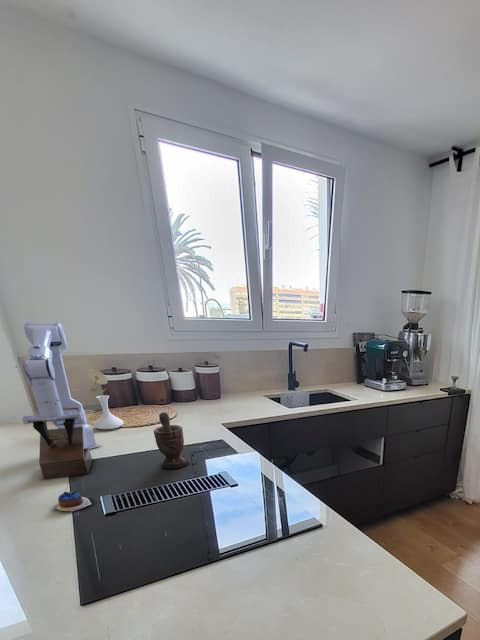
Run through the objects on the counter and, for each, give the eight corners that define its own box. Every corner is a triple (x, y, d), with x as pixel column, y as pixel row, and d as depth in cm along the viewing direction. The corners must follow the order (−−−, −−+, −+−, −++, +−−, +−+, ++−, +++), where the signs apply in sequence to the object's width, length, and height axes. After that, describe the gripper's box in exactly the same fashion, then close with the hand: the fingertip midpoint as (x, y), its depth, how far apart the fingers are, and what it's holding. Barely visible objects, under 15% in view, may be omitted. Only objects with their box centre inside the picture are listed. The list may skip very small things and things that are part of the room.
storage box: (52, 464, 132) (48, 452, 130) (92, 460, 137) (88, 447, 135) (44, 479, 121) (39, 465, 119) (87, 473, 126) (84, 460, 124)
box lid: (40, 431, 126) (35, 421, 123) (83, 427, 131) (79, 418, 128) (39, 465, 119) (34, 456, 116) (84, 460, 124) (80, 451, 121)
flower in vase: (129, 427, 174) (117, 369, 164) (103, 433, 165) (88, 372, 155) (114, 422, 180) (101, 366, 170) (87, 427, 171) (72, 369, 161)
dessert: (47, 506, 104) (56, 485, 105) (71, 510, 110) (79, 490, 111) (67, 514, 101) (77, 493, 102) (90, 518, 107) (99, 497, 108)
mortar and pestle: (195, 468, 132) (186, 410, 124) (168, 475, 127) (157, 414, 119) (182, 459, 140) (173, 403, 132) (157, 464, 135) (145, 407, 127)
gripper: (14, 405, 112) (29, 450, 117) (75, 401, 118) (86, 444, 124) (20, 400, 118) (34, 443, 123) (78, 397, 124) (88, 438, 129)
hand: (60, 443), depth 124 cm, fingers closed on box lid, 5 cm apart
